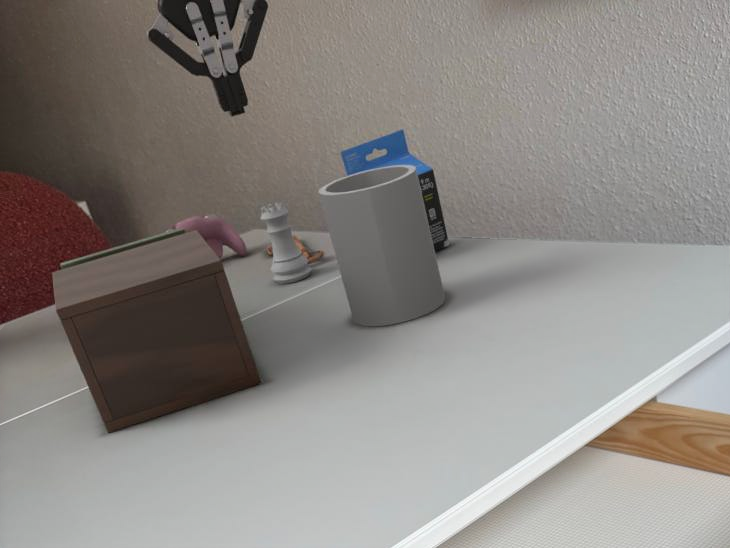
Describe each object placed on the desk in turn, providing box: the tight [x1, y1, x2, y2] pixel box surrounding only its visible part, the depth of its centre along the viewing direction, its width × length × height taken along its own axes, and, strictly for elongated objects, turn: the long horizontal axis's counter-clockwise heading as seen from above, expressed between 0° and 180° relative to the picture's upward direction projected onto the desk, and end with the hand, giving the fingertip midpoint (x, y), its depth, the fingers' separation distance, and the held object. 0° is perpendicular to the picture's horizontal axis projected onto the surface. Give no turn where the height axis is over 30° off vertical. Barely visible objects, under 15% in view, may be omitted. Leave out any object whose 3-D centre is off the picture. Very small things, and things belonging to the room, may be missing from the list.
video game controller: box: [164, 213, 248, 260], centre depth 138 cm, size 10×5×7 cm, turn 130°
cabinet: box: [51, 230, 263, 434], centre depth 98 cm, size 16×14×11 cm
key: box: [265, 234, 325, 266], centre depth 133 cm, size 6×1×15 cm
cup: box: [318, 165, 446, 327], centre depth 103 cm, size 9×9×12 cm
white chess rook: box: [259, 201, 312, 285], centre depth 123 cm, size 4×4×8 cm
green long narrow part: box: [60, 228, 186, 270], centre depth 108 cm, size 20×13×9 cm, turn 20°
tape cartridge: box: [340, 129, 450, 252], centre depth 118 cm, size 9×4×12 cm, turn 132°
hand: (237, 114), depth 114 cm, fingers closed
